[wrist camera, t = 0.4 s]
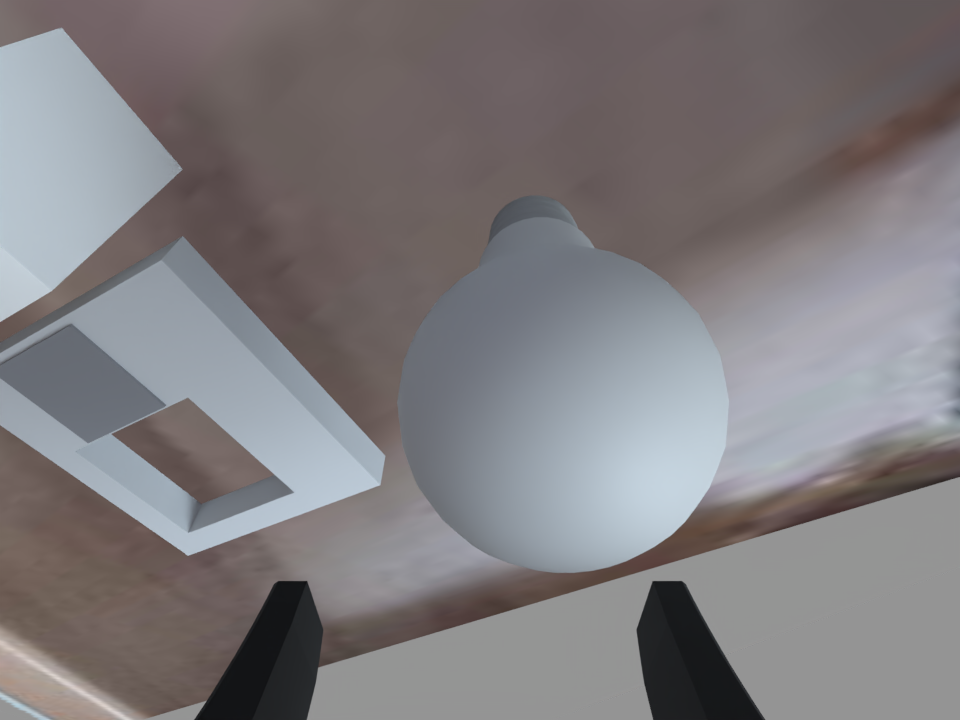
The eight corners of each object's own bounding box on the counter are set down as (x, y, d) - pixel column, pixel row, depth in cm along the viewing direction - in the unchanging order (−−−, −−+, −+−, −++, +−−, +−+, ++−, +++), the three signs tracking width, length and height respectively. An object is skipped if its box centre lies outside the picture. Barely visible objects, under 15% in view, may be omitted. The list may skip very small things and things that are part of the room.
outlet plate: (-27, 358, 21) (-59, 387, 20) (182, 236, 18) (160, 261, 17) (201, 526, 27) (187, 557, 26) (385, 456, 24) (380, 486, 23)
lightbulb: (678, 211, 17) (870, 525, 9) (536, 340, 20) (576, 671, 12) (523, 67, 15) (578, 302, 6) (388, 237, 18) (301, 556, 9)
